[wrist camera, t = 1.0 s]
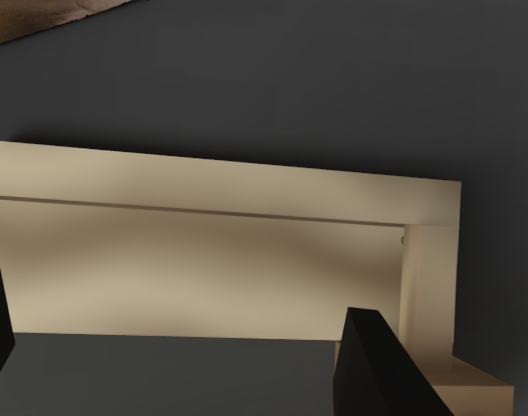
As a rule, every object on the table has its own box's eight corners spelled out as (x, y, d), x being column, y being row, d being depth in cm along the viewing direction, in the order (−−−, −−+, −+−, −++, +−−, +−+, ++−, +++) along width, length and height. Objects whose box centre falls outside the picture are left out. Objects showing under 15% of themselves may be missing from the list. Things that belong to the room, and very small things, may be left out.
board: (437, 335, 24) (453, 343, 23) (-18, 322, 21) (-34, 331, 19) (444, 184, 24) (461, 181, 23) (-2, 145, 21) (-16, 139, 19)
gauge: (421, 459, 24) (520, 560, 17) (328, 461, 23) (391, 567, 16) (432, 228, 24) (533, 230, 17) (342, 222, 24) (409, 222, 16)
